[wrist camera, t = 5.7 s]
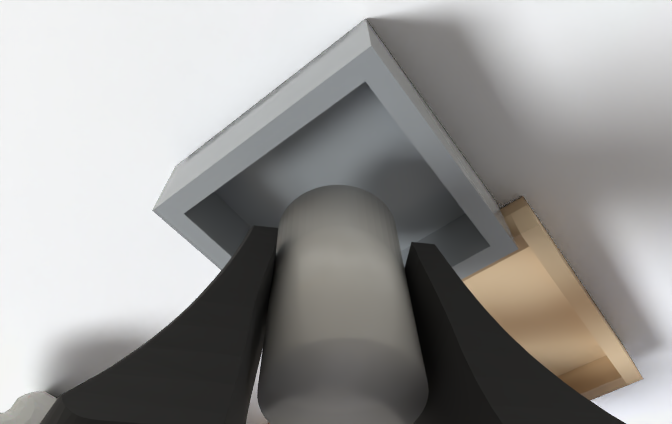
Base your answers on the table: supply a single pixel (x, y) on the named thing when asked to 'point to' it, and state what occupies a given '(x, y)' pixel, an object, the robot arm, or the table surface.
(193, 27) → the table surface
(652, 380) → the table surface
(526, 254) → the oak box
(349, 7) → the table surface
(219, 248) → the slate dish
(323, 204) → the pale grey capsule
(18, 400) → the white and red lump
